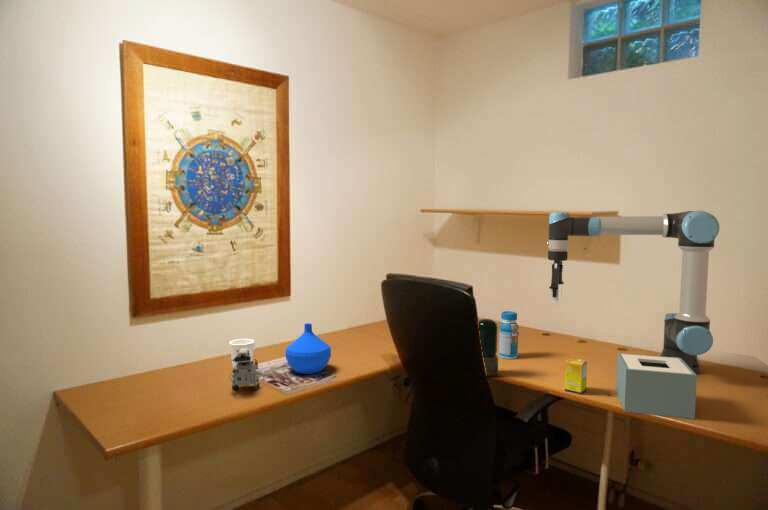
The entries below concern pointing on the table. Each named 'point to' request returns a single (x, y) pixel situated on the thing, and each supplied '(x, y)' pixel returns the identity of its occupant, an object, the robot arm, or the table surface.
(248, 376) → the figurine
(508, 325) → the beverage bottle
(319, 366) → the vase
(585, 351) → the table surface
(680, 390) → the box
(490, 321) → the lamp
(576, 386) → the supplement box
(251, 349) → the foam cup
